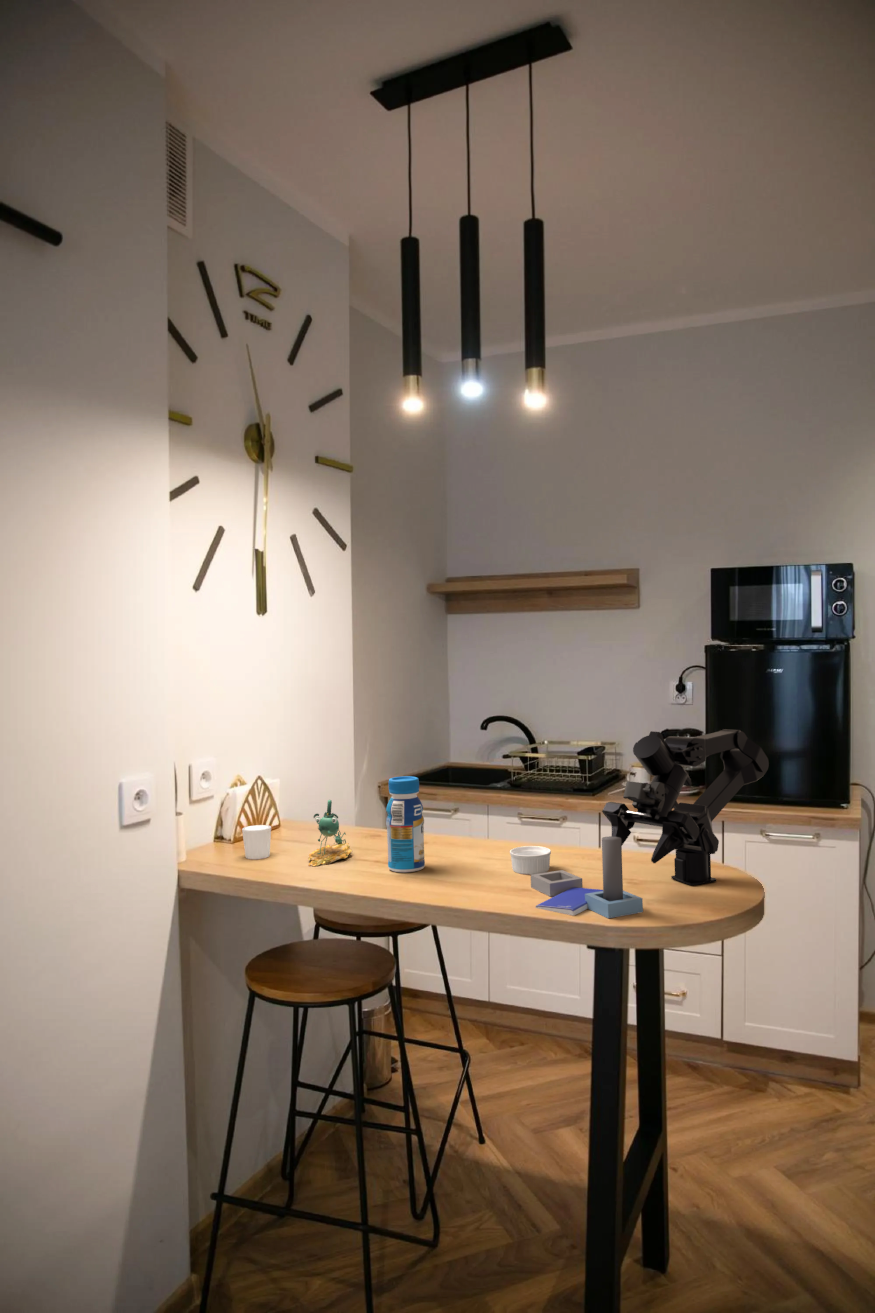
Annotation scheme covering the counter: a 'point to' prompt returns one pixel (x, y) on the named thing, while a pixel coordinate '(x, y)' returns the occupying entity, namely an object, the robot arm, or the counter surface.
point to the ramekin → (530, 859)
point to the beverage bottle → (405, 825)
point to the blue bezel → (614, 904)
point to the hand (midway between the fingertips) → (631, 858)
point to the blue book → (568, 901)
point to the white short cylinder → (257, 841)
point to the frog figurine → (326, 828)
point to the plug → (612, 868)
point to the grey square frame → (555, 882)
